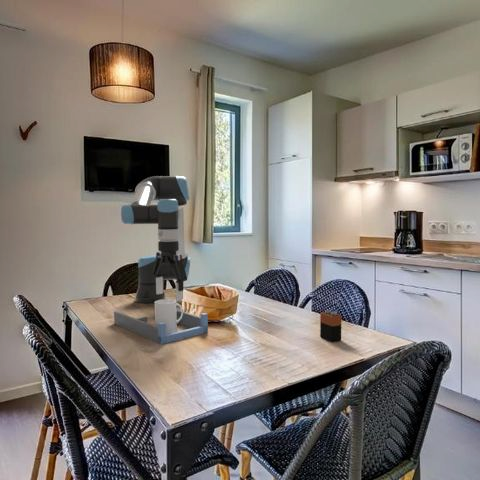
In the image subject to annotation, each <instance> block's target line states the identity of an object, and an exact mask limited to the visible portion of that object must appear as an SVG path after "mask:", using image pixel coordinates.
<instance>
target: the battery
mask: <svg viewBox="0 0 480 480" xmlns="http://www.w3.org/2000/svg"><path fill="white" fill-rule="evenodd" d="M319 317H320V323H319V324H320V325H319V326H320V327H319V333H320V335H319V336H320V338H321V339H324V340H327V341H328V342H331V343H336V342H340V341H342V315H341V314H338V313H337V311H330V310H329V309H326V310H325V311H322V312H320V316H319Z"/></svg>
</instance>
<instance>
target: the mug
mask: <svg viewBox="0 0 480 480" xmlns="http://www.w3.org/2000/svg"><path fill="white" fill-rule="evenodd" d="M177 306H178V307H179V308H180V309H181V310H180V311H182V314H181V317H180V318H179V319H178V320H177V310H178V309H177ZM183 312H184V309H183V306H182V305H181V303H178V302H177V300H176V299H172V298H170V299H169V298H167V299H166V298H165V299H163V300H157V301H155V303H154V326H157V327H158V323H161V322H164V323H166V334H170V333H174V332H178V325H177V324H179V323H178V322H179V321H180V320H181V319H182V316H183Z"/></svg>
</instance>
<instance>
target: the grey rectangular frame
mask: <svg viewBox="0 0 480 480" xmlns="http://www.w3.org/2000/svg"><path fill="white" fill-rule="evenodd" d="M181 314H182V310H180V309H177V320H178V319H179V318H180V317H181ZM113 317H114V318H113V321H114V322H113V324H115V325H117V326H118V327H121V328H123V329H126V330H128V331H131V332H132V333H135V334H137V335H139V336H141V337H144V338H146V339H148V340H150V341H152V342H155V343H157V344H159V343H158V327H157V326H155V324H151V323H149V322H148V317H147V316H144V317H138V318H136V317H133V316H131V315H128V314H126V313H123V312H121V311H118V310H116V311H113ZM177 324H179V325H181V326H185V327H189V329H190V328H194V327H198V326H201V316H199V315H196V314H193V313H189V312H186V311H183V316H182V319H181V320H180V321H179V322H178V323H177Z"/></svg>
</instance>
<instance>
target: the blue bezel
mask: <svg viewBox="0 0 480 480" xmlns="http://www.w3.org/2000/svg"><path fill="white" fill-rule="evenodd" d="M208 316H209V314H208V313H206V312H203V313H200V317H201V326H198V327H194V328H190V327H189V328H188V329H187V328H186V329H183V330H179V331H178V330H177V331H178V332H174V333H170V334H166V323H164V322H161V323H158V343H157V344H159V345H164V344H167V343H171V342H175V341H178V340H179V341H180V340H184V339H186V338H190V337H195V336H199V335H201V334H205V333H208V332H209V323H208V322H209V317H208Z"/></svg>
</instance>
